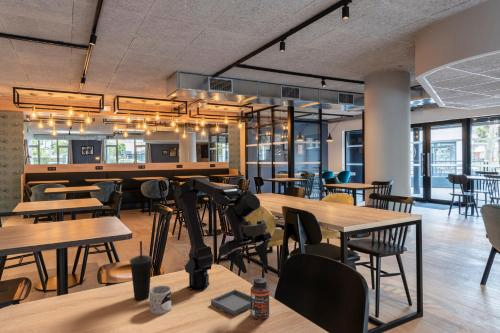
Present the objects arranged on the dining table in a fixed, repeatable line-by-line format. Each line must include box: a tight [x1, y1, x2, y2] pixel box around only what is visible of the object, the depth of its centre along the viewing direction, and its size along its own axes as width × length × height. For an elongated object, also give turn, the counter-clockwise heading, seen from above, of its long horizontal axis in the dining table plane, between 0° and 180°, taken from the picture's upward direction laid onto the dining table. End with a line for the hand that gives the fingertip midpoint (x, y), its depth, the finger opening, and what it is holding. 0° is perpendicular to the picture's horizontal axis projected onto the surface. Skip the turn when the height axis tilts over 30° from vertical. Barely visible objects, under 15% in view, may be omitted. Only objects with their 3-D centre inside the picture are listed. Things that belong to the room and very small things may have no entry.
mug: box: [149, 285, 172, 316], centre depth 104 cm, size 10×7×7 cm
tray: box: [210, 288, 251, 318], centre depth 106 cm, size 11×11×2 cm
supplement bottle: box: [249, 277, 271, 321], centre depth 99 cm, size 6×6×11 cm
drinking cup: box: [129, 240, 153, 302], centre depth 111 cm, size 8×8×20 cm
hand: (256, 269), depth 98 cm, fingers open, 9 cm apart
